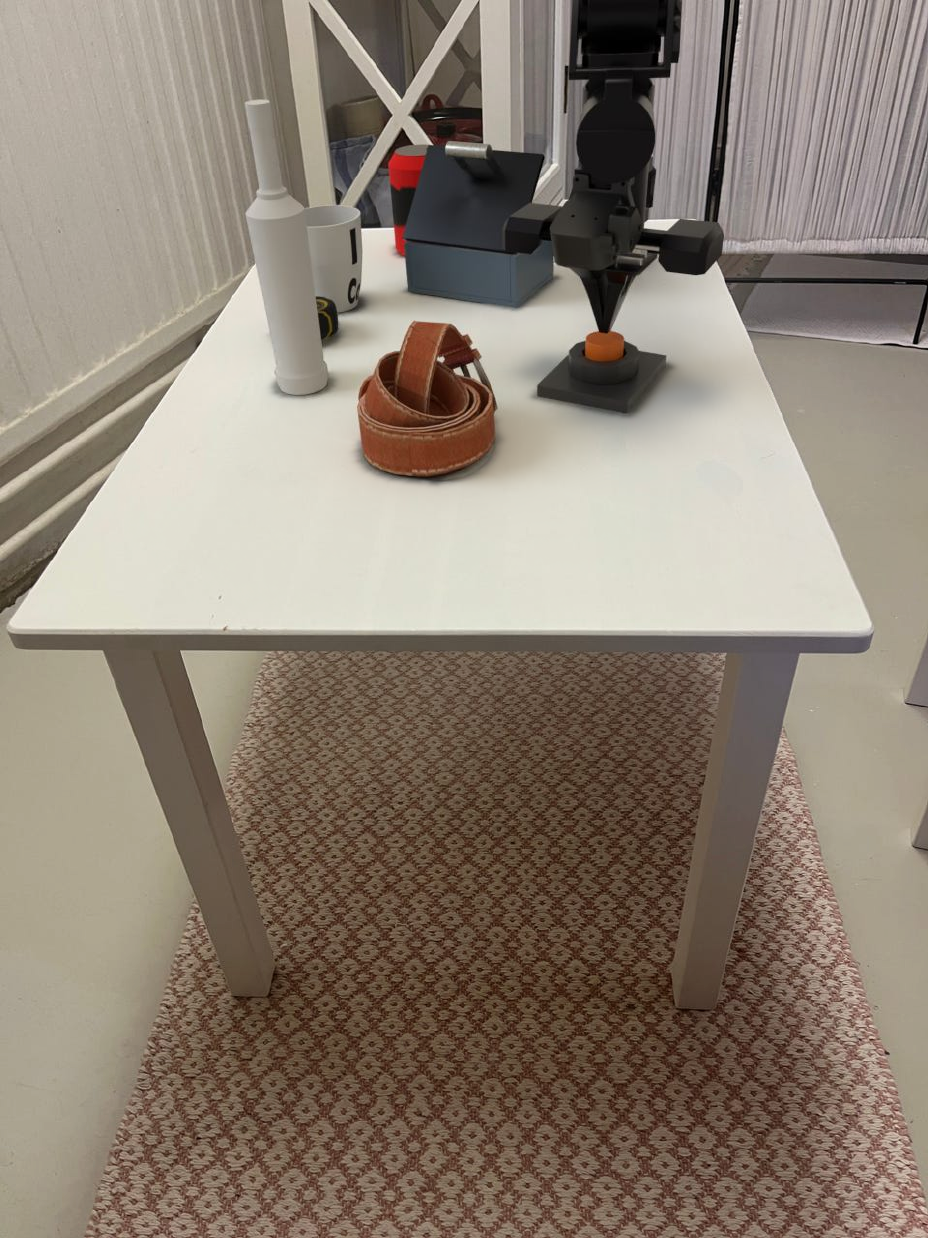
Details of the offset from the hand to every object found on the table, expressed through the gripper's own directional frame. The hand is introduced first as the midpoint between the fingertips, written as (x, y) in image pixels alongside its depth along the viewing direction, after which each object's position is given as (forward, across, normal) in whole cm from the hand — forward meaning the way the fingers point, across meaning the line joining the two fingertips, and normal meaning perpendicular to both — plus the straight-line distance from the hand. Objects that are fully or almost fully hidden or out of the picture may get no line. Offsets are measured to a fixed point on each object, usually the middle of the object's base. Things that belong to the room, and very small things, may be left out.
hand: (605, 331), depth 87 cm
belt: (+5, -10, -17) cm, 20 cm away
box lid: (-5, -23, +18) cm, 29 cm away
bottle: (+5, -27, -12) cm, 30 cm away
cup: (+5, -36, +7) cm, 37 cm away
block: (+5, 0, 0) cm, 5 cm away
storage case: (+5, -23, +19) cm, 30 cm away
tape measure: (+5, -34, -2) cm, 34 cm away
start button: (+2, 0, 0) cm, 2 cm away
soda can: (+5, -36, +28) cm, 46 cm away
